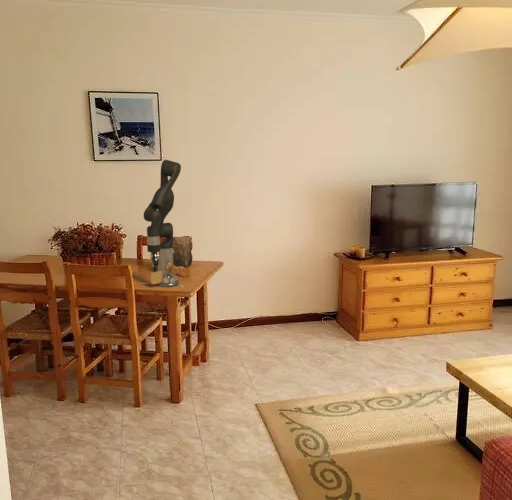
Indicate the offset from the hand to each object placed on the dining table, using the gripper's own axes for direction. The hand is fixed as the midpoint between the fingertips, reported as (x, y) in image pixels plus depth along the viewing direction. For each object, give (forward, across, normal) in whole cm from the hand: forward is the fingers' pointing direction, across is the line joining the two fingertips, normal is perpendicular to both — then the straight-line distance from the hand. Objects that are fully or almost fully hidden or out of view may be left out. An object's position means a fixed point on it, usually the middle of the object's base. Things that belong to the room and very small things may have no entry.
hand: (155, 272), depth 293 cm
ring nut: (+6, +3, +4) cm, 8 cm away
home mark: (+8, +9, +13) cm, 18 cm away
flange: (+8, +2, +7) cm, 11 cm away
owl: (+8, -41, +28) cm, 50 cm away
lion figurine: (+8, -15, +16) cm, 23 cm away
